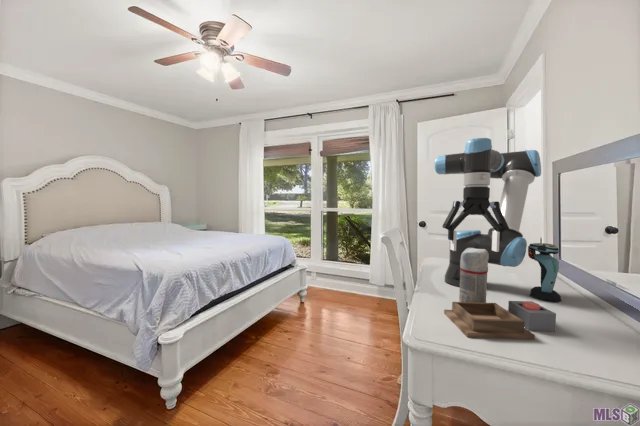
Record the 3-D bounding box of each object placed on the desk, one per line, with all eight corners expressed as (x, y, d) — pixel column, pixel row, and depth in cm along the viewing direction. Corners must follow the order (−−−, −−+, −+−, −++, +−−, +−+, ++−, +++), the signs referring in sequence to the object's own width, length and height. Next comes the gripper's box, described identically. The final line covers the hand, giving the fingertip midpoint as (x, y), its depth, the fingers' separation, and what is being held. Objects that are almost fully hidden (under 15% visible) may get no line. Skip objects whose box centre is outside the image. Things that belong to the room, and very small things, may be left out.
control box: (508, 316, 84) (508, 300, 83) (531, 317, 83) (532, 301, 83) (528, 330, 75) (529, 312, 74) (555, 331, 74) (556, 313, 74)
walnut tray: (444, 313, 86) (444, 300, 85) (499, 315, 85) (499, 301, 84) (467, 337, 71) (467, 321, 70) (534, 339, 70) (535, 323, 70)
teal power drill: (543, 302, 96) (546, 246, 95) (518, 291, 107) (520, 241, 106) (568, 302, 96) (571, 246, 95) (540, 291, 108) (542, 241, 107)
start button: (518, 309, 81) (519, 301, 81) (532, 309, 81) (533, 301, 80) (528, 314, 77) (528, 306, 77) (543, 315, 77) (543, 306, 76)
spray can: (491, 313, 86) (493, 251, 85) (463, 311, 87) (465, 250, 86) (481, 304, 94) (483, 247, 93) (455, 302, 95) (457, 246, 95)
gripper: (442, 185, 86) (440, 251, 86) (523, 186, 84) (520, 253, 85) (433, 186, 93) (431, 247, 94) (508, 187, 92) (505, 249, 92)
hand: (474, 250), depth 89 cm, fingers open, 13 cm apart
